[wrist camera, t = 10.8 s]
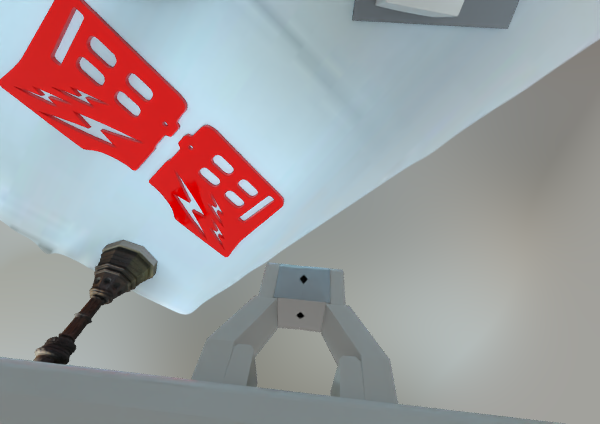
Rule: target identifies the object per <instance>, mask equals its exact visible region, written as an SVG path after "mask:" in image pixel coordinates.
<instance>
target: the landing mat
mask: <svg viewBox="0 0 600 424" xmlns="http://www.w3.org/2000/svg"><path fill="white" fill-rule="evenodd" d="M518 2H519V0H464V3H463V5H462V8H461V10H460V13H459V15H458V16H453V17H429V16H423V15H417V14H412V13H407V12H402V11H397V10H392V9H388V8H384V7H379V6H376V5H375V3H376V0H355V3H354V11H353V19H352V20H357V21H376V22H394V23H412V24H430V25H448V26H466V27H484V28H503V29H508V27H509V24H510V22H511V19H512V17H513V14H514V12H515V10H516V7H517V5H518Z"/></svg>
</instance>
